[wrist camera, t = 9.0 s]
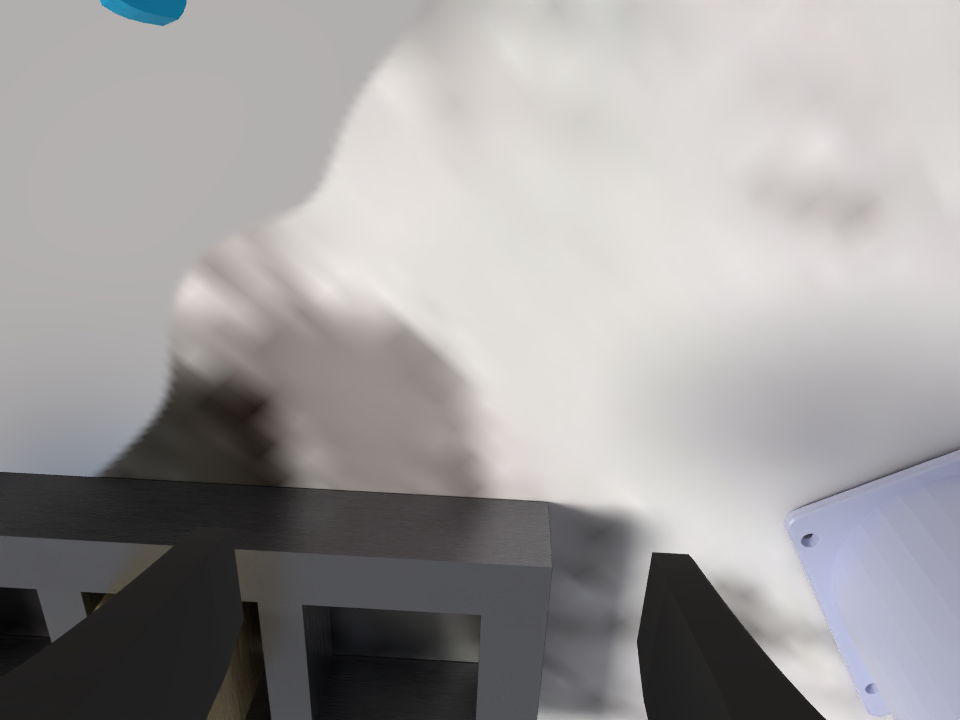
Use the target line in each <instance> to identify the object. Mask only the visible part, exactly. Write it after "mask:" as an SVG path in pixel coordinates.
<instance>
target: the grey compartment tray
mask: <svg viewBox="0 0 960 720" xmlns="http://www.w3.org/2000/svg"><path fill="white" fill-rule="evenodd" d="M196 527H211V528H229V529H232V533H233V541H234V548H235V556H236V563H237V571H238V579H239V586H240V594H241V601H248V602H258V611H259V619H260V628H261V636H262V644H263V653H264V661H265V668H264V671H263V673H262V676H261V678H260V681H259V684H258V686H257V689H256V692H255V694H254V697H253V700H252V702H251V705H250V708H249V710H248V713H247V716H246V718H245V720H537V714H538V704H539V694H540V685H541V675H542V665H543V655H544V645H545V635H546V625H547V615H548V605H549V595H550V585H551V575H552V555H551V541H550V526H549V511H548V502H534V501H515V500H497V499H479V498H461V497H443V496H425V495H407V494H389V493H371V492H353V491H335V490H317V489H299V488H281V487H263V486H245V485H227V484H209V483H190V482H172V481H154V480H136V479H118V478H100V477H82V476H81V477H80V476H63V475H45V474H26V473H10V472H0V587H9V588H26V589H37V592H38V596H39V599H40V603H41V606H42V610H43V614H44V617H45V621H46V624H47V628H48V631H49V635H50V638H45V637H28V636H11V635H0V678H1V677H3V676H4V675H6V674H7V673H9V672H10V671H12V670H13V669H15V668H17V667H18V666H20V665H21V664H22V663H24V662H25V661H27V660H28V659H30V658H31V657H33V656H34V655H36V654H37V653H39V652H40V651H41V650H43V649H44V648H46V647H47V646H49V645H50V644H51V643H53V642H54V641H55V640H57V639H58V638H59V637H61V636H62V635H63V634H65V633H66V632H67V631H69V630H70V629H71V628H73V627H74V626H75V625H77V624H78V623H79V622H81V621H82V620H83V619H85V618H86V617H87V616H89V615H90V614H91V613H93V611H94V610H95V608H96V607H97V605H98V604H99V603H100V601H101V600H102V598H103V597H104V595H105V594H106V593H111V594H117V593H118V592H119V591H120V590H121V589H123V588H124V587H125V586H126V585H128V584H129V583H130V582H131V581H133V580H134V579H135V578H136V577H137V576H139V575H140V574H141V573H142V572H143V571H144V570H146V569H147V568H148V567H149V566H150V565H152V564H153V563H154V562H155V561H156V560H158V559H159V558H160V557H161V556H162V555H163V554H165V553H166V552H167V551H168V550H169V549H171V548H172V547H173V546H174V545H175V544H177V543H178V542H179V541H180V540H181V539H183V538H184V537H185V536H186V535H187V534H189V533H190V532H191V531H192V530H194V529H195V528H196ZM330 606H333V607H350V608H367V609H384V610H401V611H418V612H435V613H452V614H469V615H481V629H480V648H479V664H478V663H461V662H444V661H428V660H411V659H394V658H378V657H361V656H345V655H333V646H332V631H331V615H330Z"/></svg>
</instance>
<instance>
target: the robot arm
mask: <svg viewBox="0 0 960 720" xmlns="http://www.w3.org/2000/svg"><path fill="white" fill-rule="evenodd" d="M784 525H785V529H786V531H787V533H788V535H789V538H790V540H791V542H792V545H793V547H794V549H795V551H796V554H797V556H798V558H799V560H800V563H801V565H802V567H803V570H804V572H805V574H806V576H807V579H808V581H809V583H810V585H811V588H812V590H813V592H814V595H815V597H816V599H817V601H818V604H819V606H820V608H821V610H822V613H823V615H824V617H825V620H826V622H827V624H828V626H829V629H830V631H831V633H832V635H833V638H834V640H835V642H836V645H837V647H838V649H839V651H840V654H841V656H842V658H843V660H844V663H845V665H846V667H847V670H848V672H849V674H850V676H851V679H852V681H853V683H854V685H855V688H856V690H857V692H858V694H859V697H860V699H861V701H862V704H863V706H864V708H865V710H866V711H867V712H868V714H870V715H873V716H879V717H880V716H885V715H889V714H892V716H893V718H894V720H960V450H957V451H954V452H952V453H949V454H946V455H943V456H941V457H938V458H935V459H932V460H930V461H927V462H924V463H922V464H919V465H916V466H913V467H911V468H908V469H905V470H902V471H900V472H897V473H894V474H892V475H889V476H886V477H883V478H881V479H878V480H875V481H872V482H870V483H867V484H864V485H861V486H859V487H856V488H853V489H851V490H848V491H845V492H842V493H840V494H837V495H834V496H831V497H829V498H826V499H823V500H821V501H818V502H815V503H812V504H810V505H807V506H804V507H801V508H799V509H796V510H794V511H792V512H790V513H789V514H788V515H787V517H786V518H785V521H784ZM807 534H813V535H812V536H811V537H810V538H808V539H802V538H803V536H805V535H807ZM243 620H244V617H243V609H242V601H241V594H240V586H239V579H238V571H237V563H236V556H235V548H234V541H233V533H232V529H229V528H211V527H196V528H195V529H194V530H192V531H191V532H190V533H189V534H187V535H186V536H185V537H184V538H183V539H181V540H180V541H179V542H178V543H177V544H175V545H174V546H173V547H172V548H171V549H169V550H168V551H167V552H166V553H165V554H163V555H162V556H161V557H160V558H159V559H158V560H156V561H155V562H154V563H153V564H152V565H150V566H149V567H148V568H147V569H146V570H144V571H143V572H142V573H141V574H140V575H139V576H137V577H136V578H135V579H134V580H133V581H131V582H130V583H129V584H128V585H126V586H125V587H124V588H123V589H121V590H120V591H119V592H118V593H117V594H115V595H114V596H113V597H112V598H110V599H109V600H108V601H107V602H105V603H104V604H103V605H102V606H101V607H99V608H98V609H97V610H95V611H94V612H93V613H91V614H90V615H89V616H87V617H86V618H85V619H83V620H82V621H81V622H79V623H78V624H77V625H75V626H74V627H73V628H71V629H70V630H69V631H67V632H66V633H65V634H63V635H62V636H61V637H59V638H58V639H57V640H55V641H54V642H53V643H51V644H50V645H49V646H47V647H46V648H44V649H43V650H41V651H40V652H39V653H37V654H36V655H34V656H33V657H31V658H30V659H28V660H27V661H25V662H24V663H22V664H21V665H20V666H18V667H17V668H15V669H13V670H12V671H10V672H9V673H7V674H6V675H4V676H3V677H1V678H0V720H206V718H207V716H208V714H209V712H210V710H211V707H212V705H213V703H214V701H215V699H216V696H217V694H218V692H219V690H220V688H221V685H222V683H223V681H224V678H225V676H226V674H227V671H228V668H229V664H230V661H231V658H232V655H233V652H234V649H235V646H236V643H237V639H238V636H239V633H240V630H241V626H242V623H243ZM637 647H638V656H639V665H640V674H641V682H642V690H643V698H644V704H645V708H646V712H647V717H648V720H826V719H825V718H824V717H823V716H822V715H821V714H820V713H819V712H818V711H817V710H816V709H815V708H814V707H813V706H812V705H811V704H810V703H809V702H808V701H807V699H806V698H805V697H804V696H803V695H802V694H801V693H800V692H799V691H798V690H797V689H796V687H795V686H794V685H793V684H792V683H791V682H790V681H789V680H788V679H787V678H786V676H785V675H784V674H783V673H782V672H781V671H780V670H779V669H778V667H777V666H776V665H775V664H774V663H773V662H772V660H771V659H770V658H769V657H768V656H767V655H766V653H765V652H764V651H763V650H762V648H761V647H760V646H759V645H758V644H757V642H756V641H755V640H754V639H753V637H752V636H751V635H750V634H749V633H748V631H747V630H746V629H745V628H744V626H743V625H742V624H741V623H740V621H739V620H738V619H737V618H736V616H735V615H734V614H733V612H732V611H731V610H730V608H729V607H728V606H727V605H726V603H725V602H724V601H723V599H722V598H721V597H720V595H719V594H718V593H717V591H716V590H715V589H714V587H713V586H712V585H711V583H710V582H709V580H708V579H707V578H706V576H705V575H704V574H703V572H702V571H701V570H700V568H699V567H698V565H697V564H696V563H695V561H694V560H693V559H692V558H691V557H690V556H689V554H671V553H654V552H652V558H651V564H650V569H649V575H648V581H647V587H646V593H645V598H644V604H643V610H642V616H641V622H640V627H639V633H638V639H637ZM871 683H872V684H871Z"/></svg>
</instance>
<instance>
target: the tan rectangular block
mask: <svg viewBox="0 0 960 720" xmlns="http://www.w3.org/2000/svg"><path fill="white" fill-rule="evenodd" d="M114 595H115V594H111V593H106V594H105V595H104V597H103V598H102V600H101V601H100V603H99V604H98V605H97V607H96V608H95V610H97V609H98V608H99V607H101V606H102V605H103V604H104V603H105V602H107V601H108V600H109V599H110V598H112V597H113V596H114ZM242 609H243V617H244V620H243V623H242V626H241V630H240V633H239V636H238V639H237V643H236V646H235V649H234V652H233V655H232V658H231V661H230V664H229V668H228V671H227V674H226V676H225V678H224V681H223V683H222V685H221V688H220V690H219V692H218V694H217V696H216V699H215V701H214V703H213V705H212V707H211V710H210V712H209V714H208V716H207V718H206V720H245V718H246V716H247V713H248V710H249V708H250V705H251V702H252V700H253V697H254V694H255V692H256V689H257V686H258V684H259V681H260V678H261V676H262V673H263V671H264V668H265V661H264V653H263V644H262V636H261V628H260V619H259V611H258V602H248V601H242ZM95 610H94V611H95ZM94 611H93V612H94Z"/></svg>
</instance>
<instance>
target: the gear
mask: <svg viewBox="0 0 960 720" xmlns="http://www.w3.org/2000/svg"><path fill="white" fill-rule="evenodd" d="M100 1H101V4H102V6H104V7H106V8H108V9H109V10H111V11H112V12H114V13H116V14H118V15H121V16H123V17H126V18H128V19H132V20H136V21H139V22H143V23H149V24H155V25H161V26H164V25H166V24H168V23H170V22H173V21H175V20H178V19H179V18H180V16H181V15H182V13H183V12H184V9H185V6H186V0H100Z"/></svg>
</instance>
